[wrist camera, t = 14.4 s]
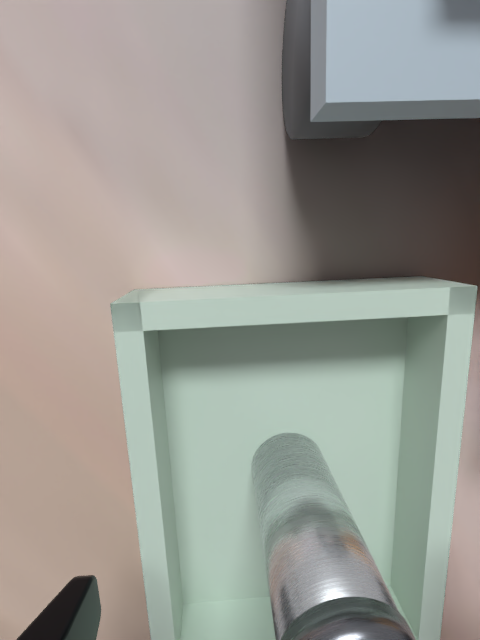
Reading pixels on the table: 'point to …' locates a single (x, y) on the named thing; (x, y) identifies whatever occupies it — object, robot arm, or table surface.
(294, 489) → the pin
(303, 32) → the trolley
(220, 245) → the table surface
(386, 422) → the tray
